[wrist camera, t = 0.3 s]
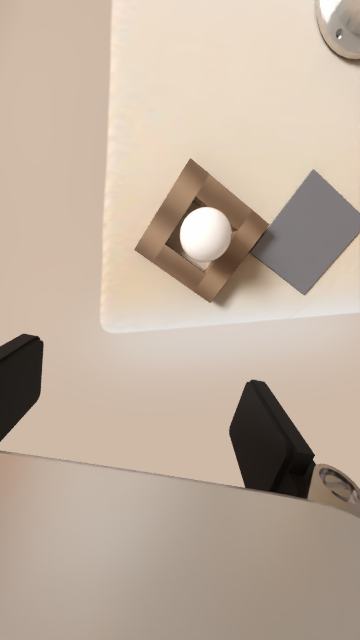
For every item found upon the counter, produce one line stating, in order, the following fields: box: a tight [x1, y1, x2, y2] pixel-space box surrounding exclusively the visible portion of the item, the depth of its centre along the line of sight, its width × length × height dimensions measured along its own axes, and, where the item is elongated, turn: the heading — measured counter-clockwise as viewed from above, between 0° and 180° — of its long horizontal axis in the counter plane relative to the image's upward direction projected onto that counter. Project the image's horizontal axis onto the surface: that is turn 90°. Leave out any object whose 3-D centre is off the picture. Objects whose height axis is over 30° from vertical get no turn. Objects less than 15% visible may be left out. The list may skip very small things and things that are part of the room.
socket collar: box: [134, 158, 269, 302], centre depth 34 cm, size 14×14×3 cm
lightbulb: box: [180, 207, 232, 262], centre depth 30 cm, size 6×6×11 cm
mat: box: [250, 170, 360, 294], centre depth 35 cm, size 14×12×1 cm
